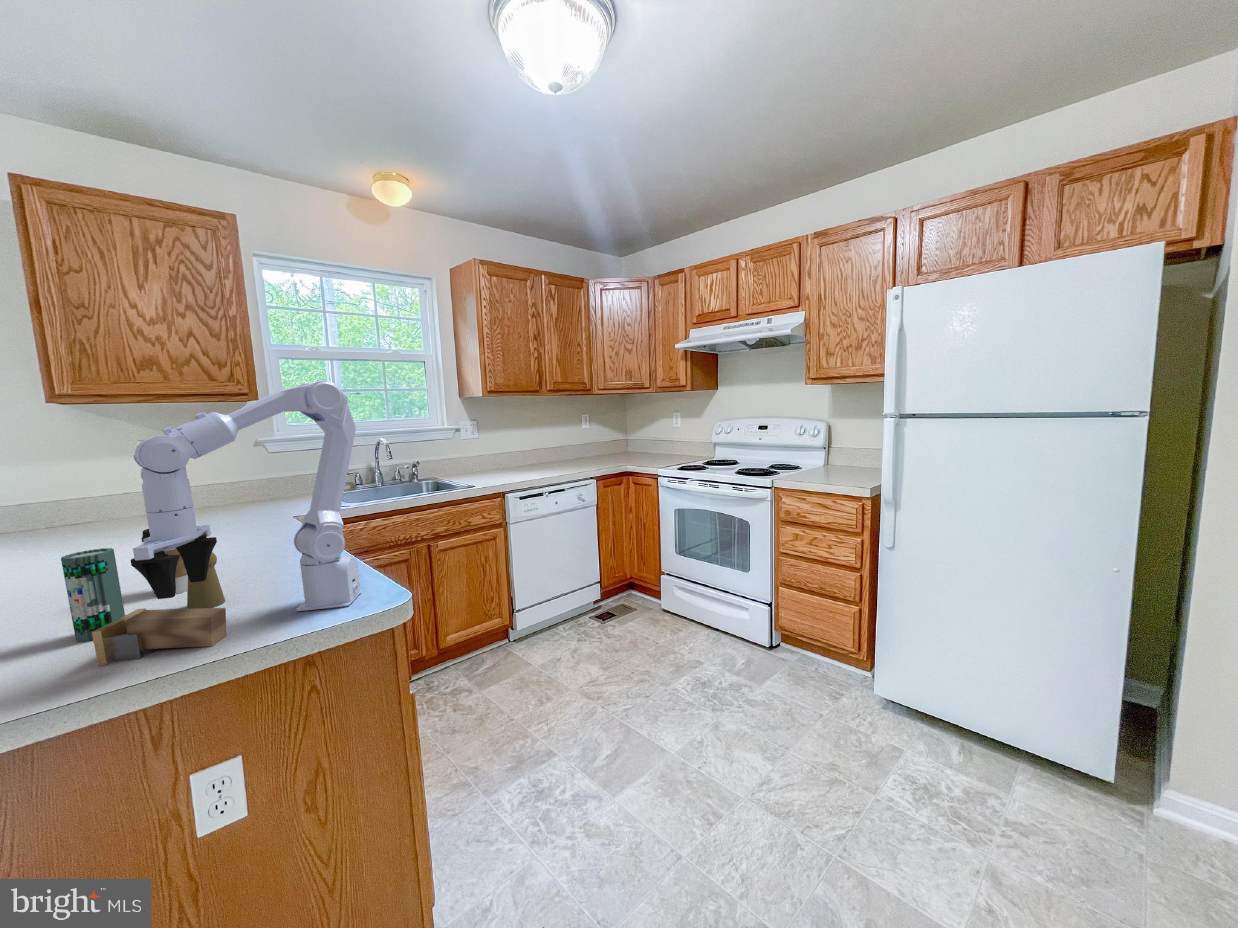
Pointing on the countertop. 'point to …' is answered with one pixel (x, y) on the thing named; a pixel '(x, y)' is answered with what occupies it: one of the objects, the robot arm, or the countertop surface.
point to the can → (92, 590)
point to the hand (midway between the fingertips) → (183, 589)
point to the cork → (205, 589)
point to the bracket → (118, 641)
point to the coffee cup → (181, 572)
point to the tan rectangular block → (179, 627)
